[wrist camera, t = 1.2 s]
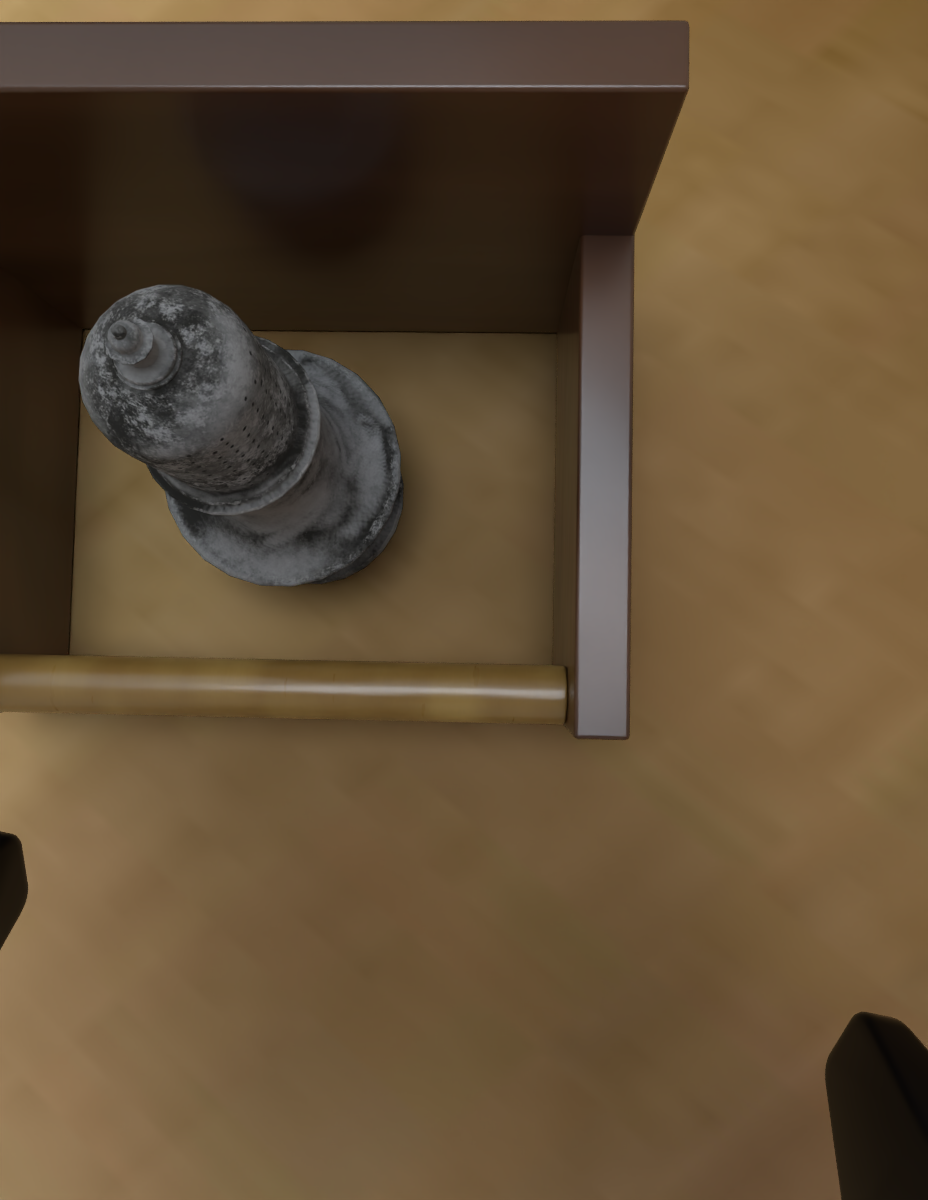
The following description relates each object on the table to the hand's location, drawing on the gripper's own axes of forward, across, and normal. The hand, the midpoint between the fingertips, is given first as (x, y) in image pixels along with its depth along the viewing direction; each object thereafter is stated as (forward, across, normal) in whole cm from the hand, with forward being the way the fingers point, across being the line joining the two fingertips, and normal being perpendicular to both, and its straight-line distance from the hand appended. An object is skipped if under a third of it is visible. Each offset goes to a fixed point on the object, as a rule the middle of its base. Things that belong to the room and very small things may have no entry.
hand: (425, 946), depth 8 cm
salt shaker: (+15, +6, +1) cm, 16 cm away
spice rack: (+15, +6, +1) cm, 16 cm away
